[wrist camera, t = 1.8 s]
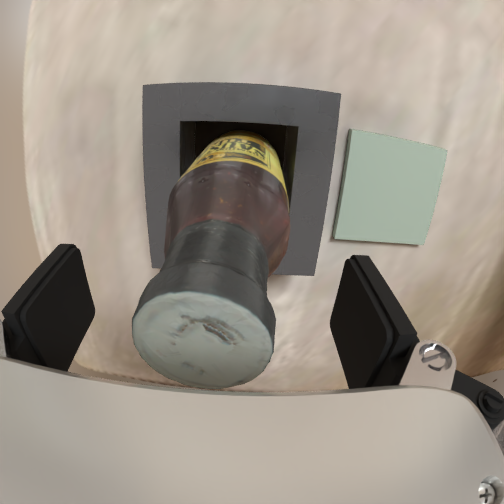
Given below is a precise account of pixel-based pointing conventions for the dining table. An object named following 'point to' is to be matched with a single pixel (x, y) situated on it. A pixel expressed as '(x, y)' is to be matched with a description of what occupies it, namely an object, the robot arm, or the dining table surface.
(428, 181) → the mat
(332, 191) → the dining table surface
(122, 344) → the dining table surface
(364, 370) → the robot arm
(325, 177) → the collar
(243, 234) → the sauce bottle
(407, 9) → the dining table surface
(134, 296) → the dining table surface
